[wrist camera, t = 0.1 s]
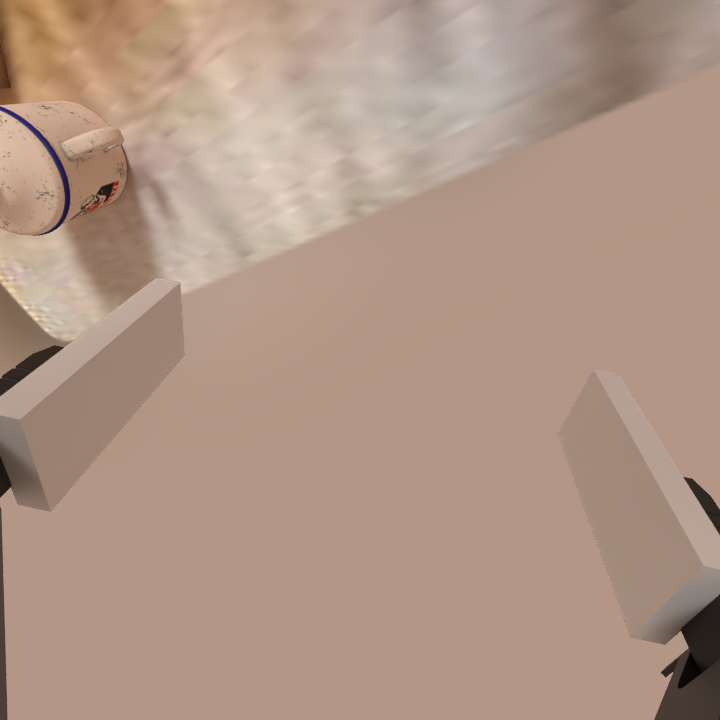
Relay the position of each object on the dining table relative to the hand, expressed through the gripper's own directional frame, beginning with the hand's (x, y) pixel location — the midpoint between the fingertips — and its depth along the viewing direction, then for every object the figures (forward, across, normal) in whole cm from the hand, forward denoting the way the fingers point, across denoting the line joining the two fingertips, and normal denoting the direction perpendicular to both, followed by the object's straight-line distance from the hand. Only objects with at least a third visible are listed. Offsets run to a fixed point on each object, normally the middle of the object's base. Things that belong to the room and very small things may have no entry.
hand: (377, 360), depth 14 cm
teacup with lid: (+28, -28, -3) cm, 40 cm away
